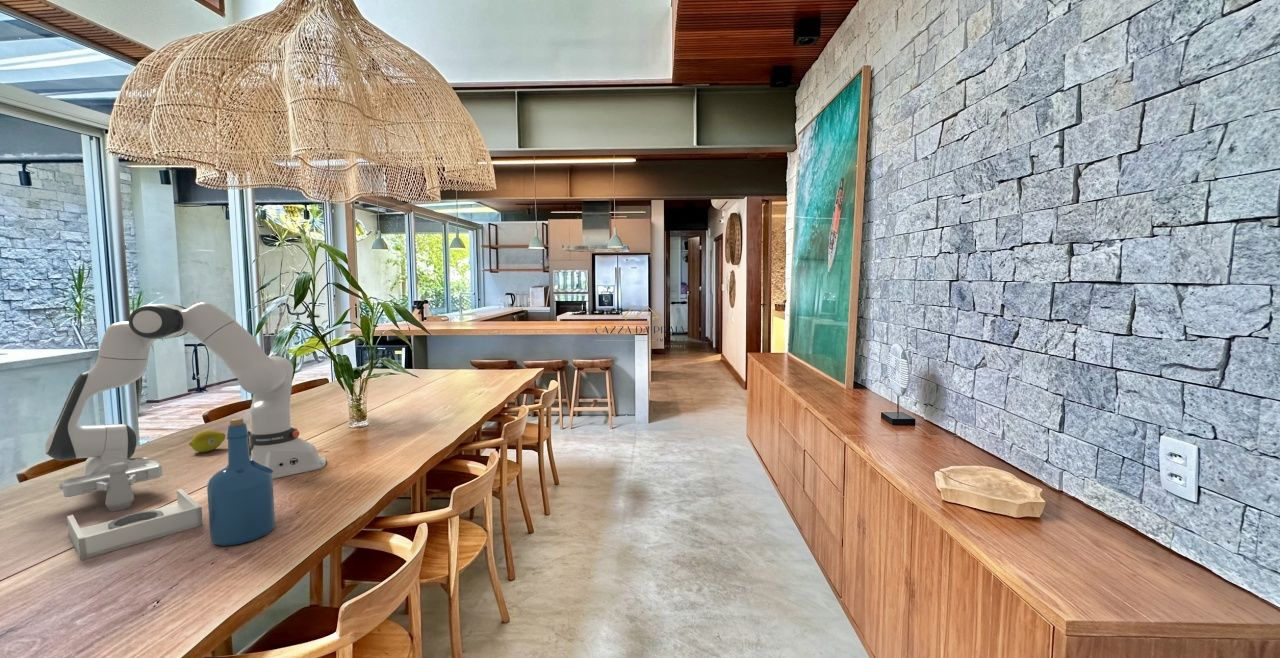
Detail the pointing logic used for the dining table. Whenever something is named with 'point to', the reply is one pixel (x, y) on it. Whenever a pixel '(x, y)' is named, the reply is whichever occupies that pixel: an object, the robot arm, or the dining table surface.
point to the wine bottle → (240, 494)
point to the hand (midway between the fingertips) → (119, 485)
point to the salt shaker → (118, 488)
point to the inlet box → (135, 527)
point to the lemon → (207, 441)
